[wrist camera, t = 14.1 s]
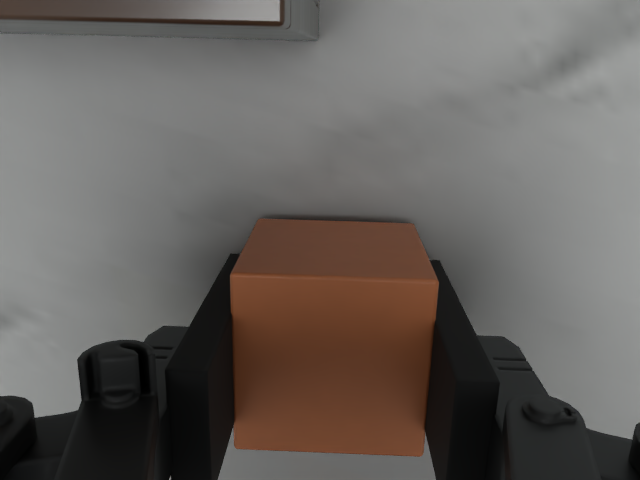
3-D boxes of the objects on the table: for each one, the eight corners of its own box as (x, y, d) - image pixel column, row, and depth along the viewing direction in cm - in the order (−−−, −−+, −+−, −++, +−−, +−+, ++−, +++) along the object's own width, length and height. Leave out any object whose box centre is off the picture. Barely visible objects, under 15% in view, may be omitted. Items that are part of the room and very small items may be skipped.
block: (404, 363, 18) (423, 458, 14) (258, 357, 18) (233, 450, 14) (414, 222, 16) (439, 280, 12) (257, 217, 16) (228, 272, 12)
